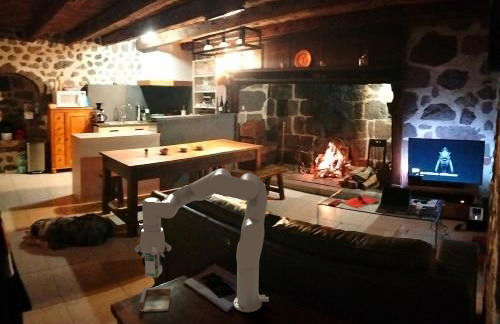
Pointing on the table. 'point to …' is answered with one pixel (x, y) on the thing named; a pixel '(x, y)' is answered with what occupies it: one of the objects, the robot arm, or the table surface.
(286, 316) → the table surface
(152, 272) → the syrup box
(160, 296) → the board
